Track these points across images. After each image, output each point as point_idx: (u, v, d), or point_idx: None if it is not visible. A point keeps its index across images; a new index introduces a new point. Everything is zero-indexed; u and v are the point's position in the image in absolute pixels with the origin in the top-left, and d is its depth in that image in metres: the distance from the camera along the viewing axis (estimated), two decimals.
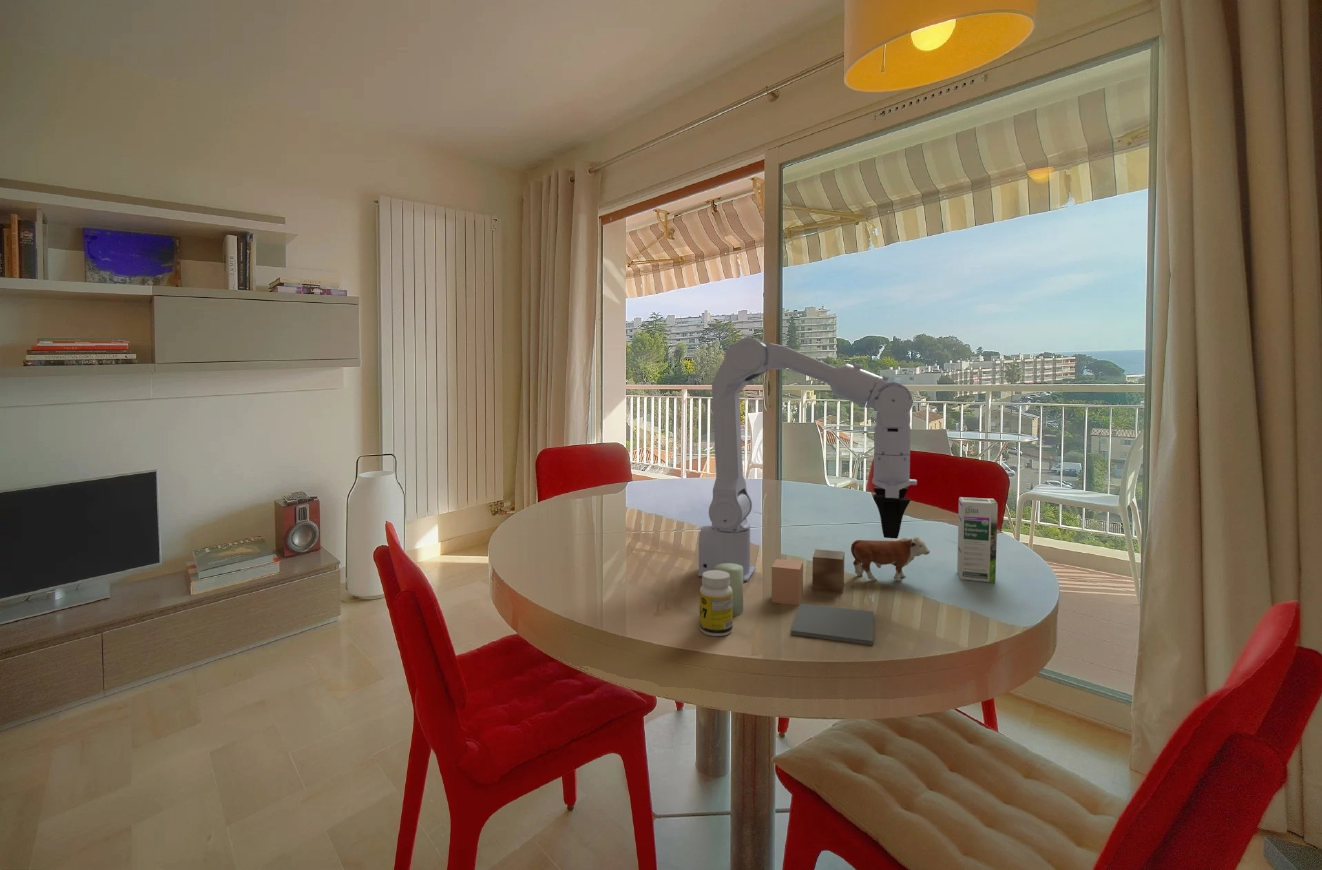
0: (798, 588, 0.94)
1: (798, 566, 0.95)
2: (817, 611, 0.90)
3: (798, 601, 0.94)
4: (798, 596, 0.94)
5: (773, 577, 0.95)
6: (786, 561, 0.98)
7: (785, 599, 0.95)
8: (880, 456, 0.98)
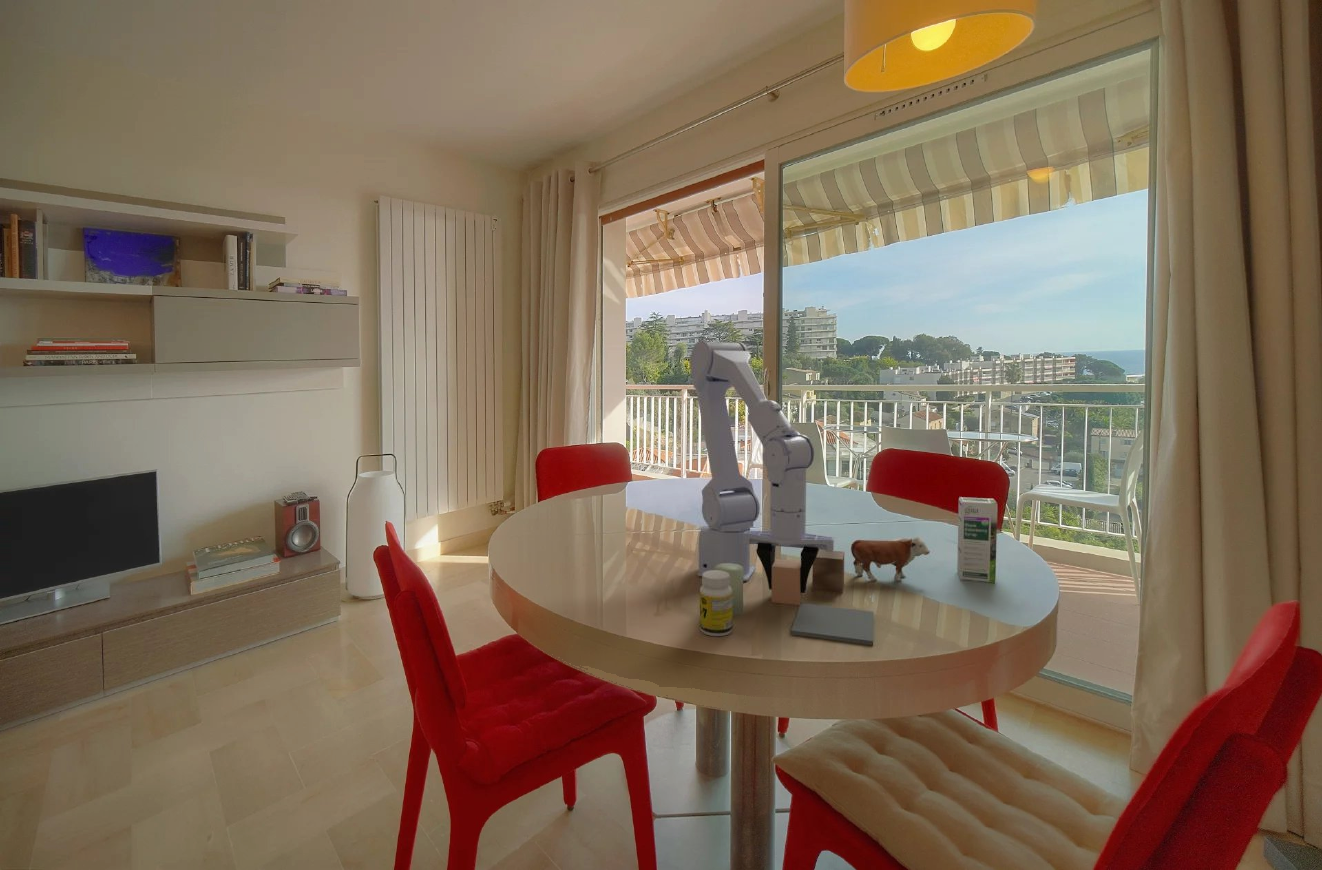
0: (798, 588, 0.94)
1: (798, 566, 0.95)
2: (817, 611, 0.90)
3: (798, 601, 0.94)
4: (798, 596, 0.94)
5: (773, 577, 0.95)
6: (786, 561, 0.98)
7: (785, 599, 0.95)
8: None
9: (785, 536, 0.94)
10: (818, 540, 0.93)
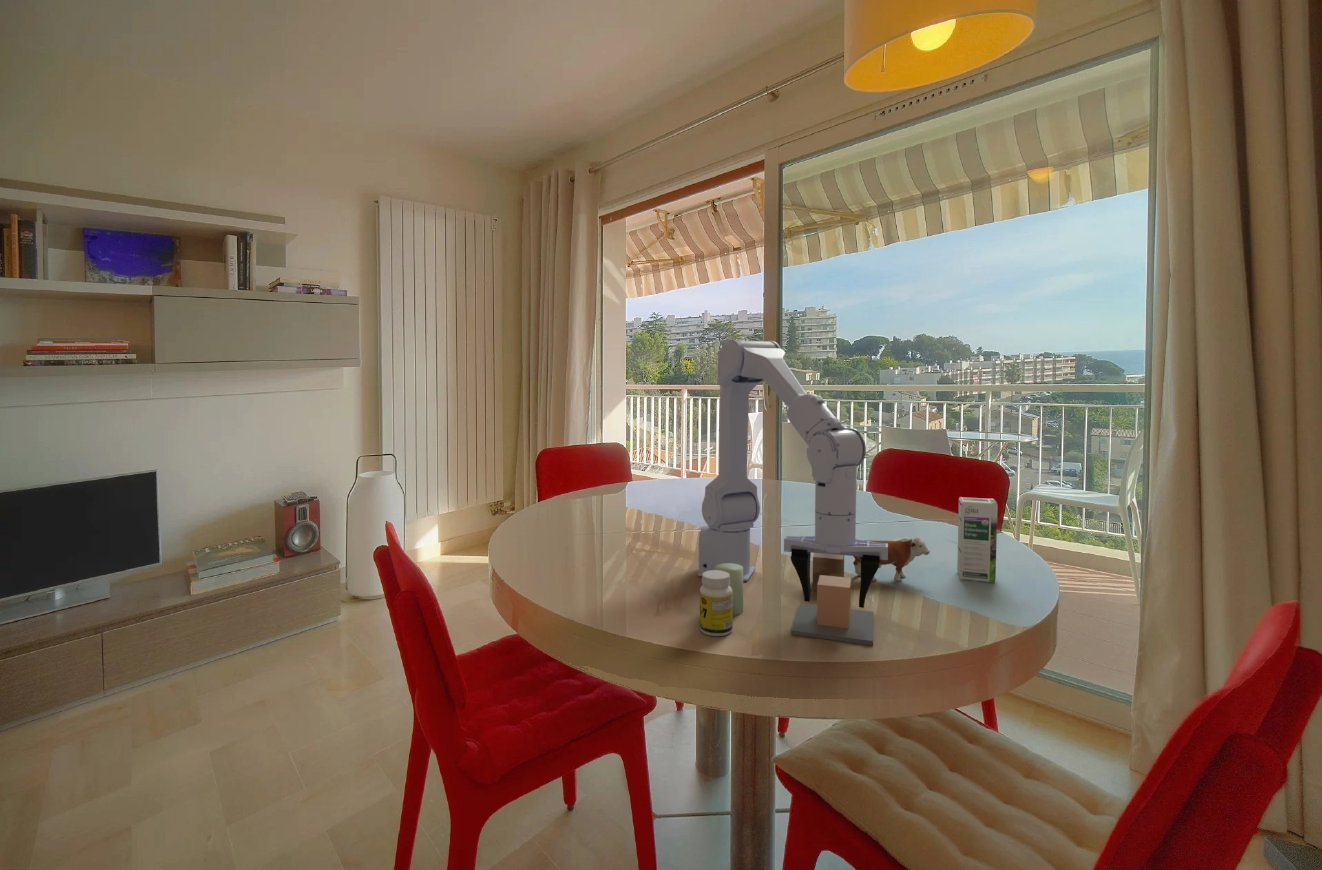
0: (848, 609, 0.83)
1: (847, 584, 0.85)
2: None
3: (848, 623, 0.84)
4: (848, 618, 0.84)
5: (819, 596, 0.85)
6: (832, 578, 0.87)
7: (832, 621, 0.84)
8: None
9: (833, 542, 0.83)
10: (871, 547, 0.82)
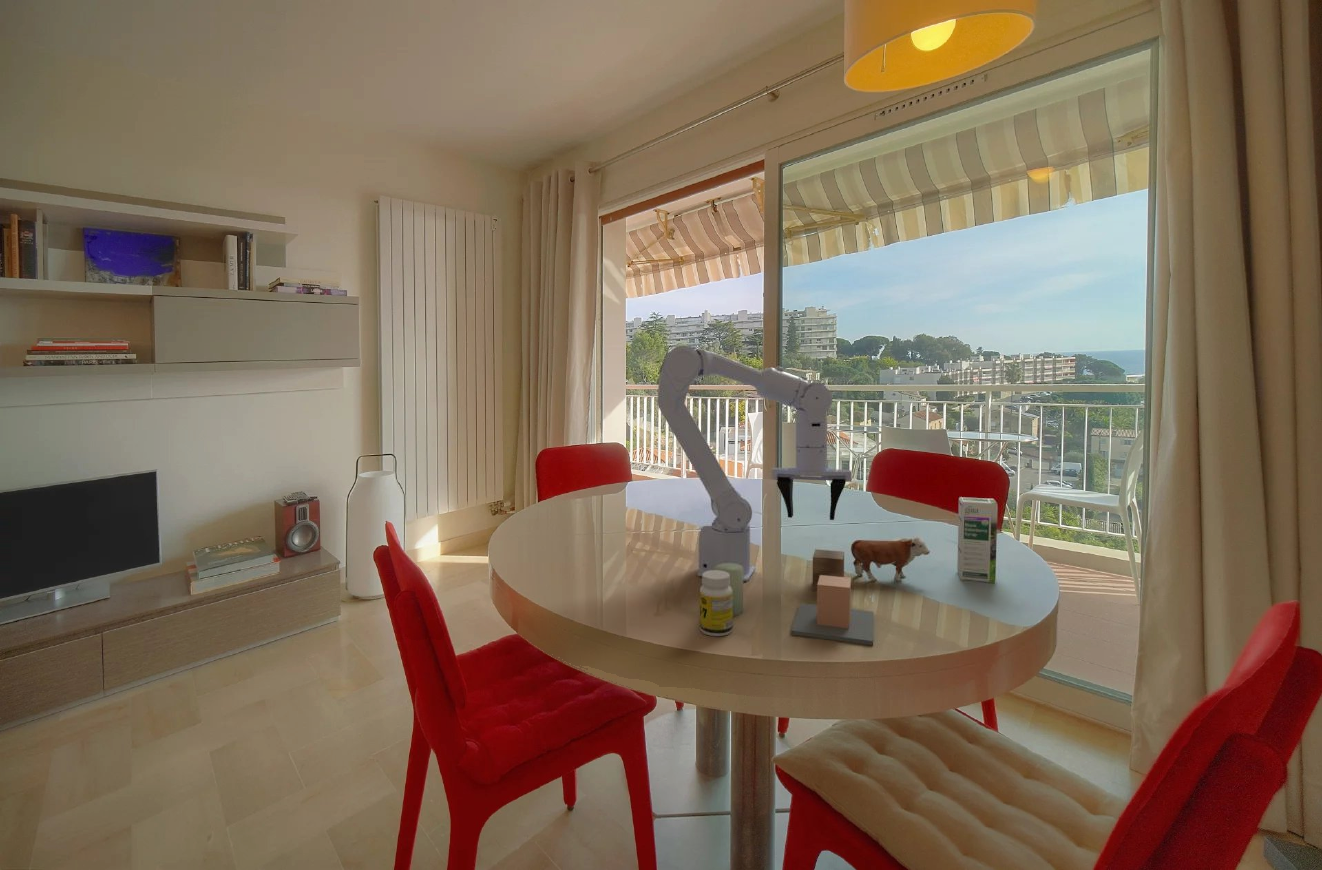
0: (848, 609, 0.83)
1: (847, 584, 0.85)
2: None
3: (848, 623, 0.84)
4: (848, 618, 0.84)
5: (819, 596, 0.85)
6: (832, 578, 0.87)
7: (832, 621, 0.84)
8: None
9: (809, 469, 1.07)
10: (838, 472, 1.07)
